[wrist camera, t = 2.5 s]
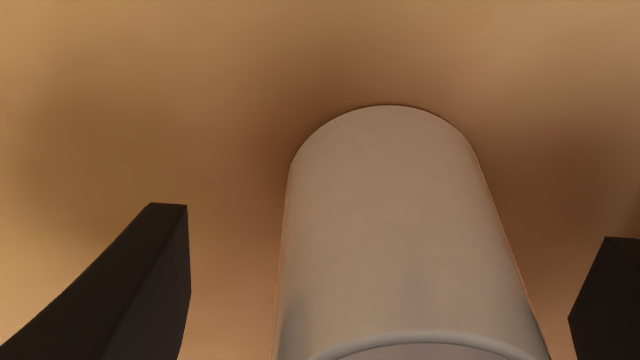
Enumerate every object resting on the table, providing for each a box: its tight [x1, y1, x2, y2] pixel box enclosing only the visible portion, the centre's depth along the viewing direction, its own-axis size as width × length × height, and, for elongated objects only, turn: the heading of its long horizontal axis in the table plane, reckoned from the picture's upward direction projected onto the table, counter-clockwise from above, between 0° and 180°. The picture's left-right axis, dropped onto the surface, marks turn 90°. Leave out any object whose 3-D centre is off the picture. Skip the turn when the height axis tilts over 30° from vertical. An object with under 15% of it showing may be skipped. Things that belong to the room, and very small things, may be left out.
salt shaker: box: [268, 105, 553, 360], centre depth 10 cm, size 4×4×6 cm
